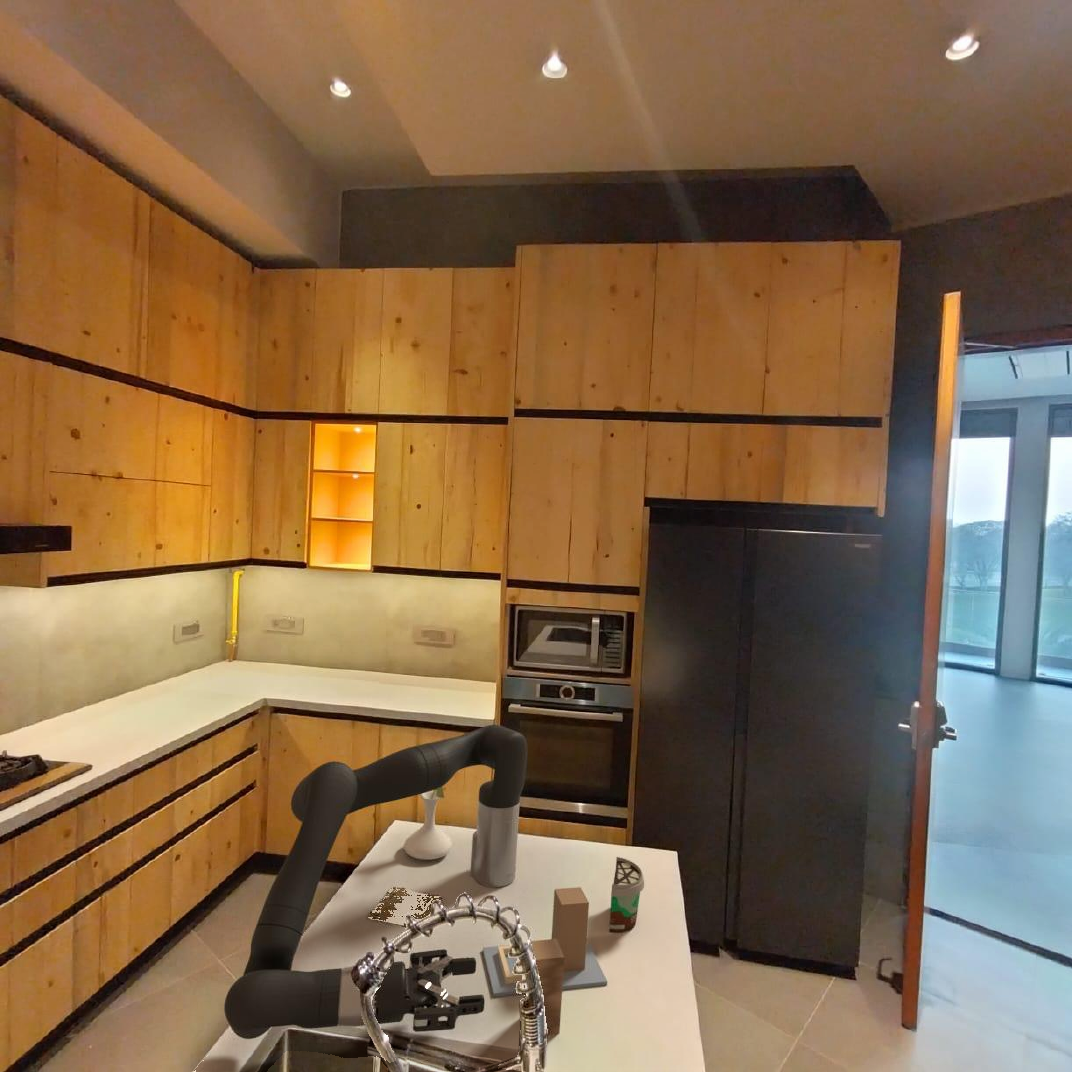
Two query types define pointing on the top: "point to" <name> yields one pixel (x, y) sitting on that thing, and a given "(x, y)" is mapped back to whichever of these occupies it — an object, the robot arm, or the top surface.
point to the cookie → (393, 900)
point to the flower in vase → (429, 832)
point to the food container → (625, 896)
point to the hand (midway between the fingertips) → (479, 983)
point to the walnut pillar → (550, 979)
